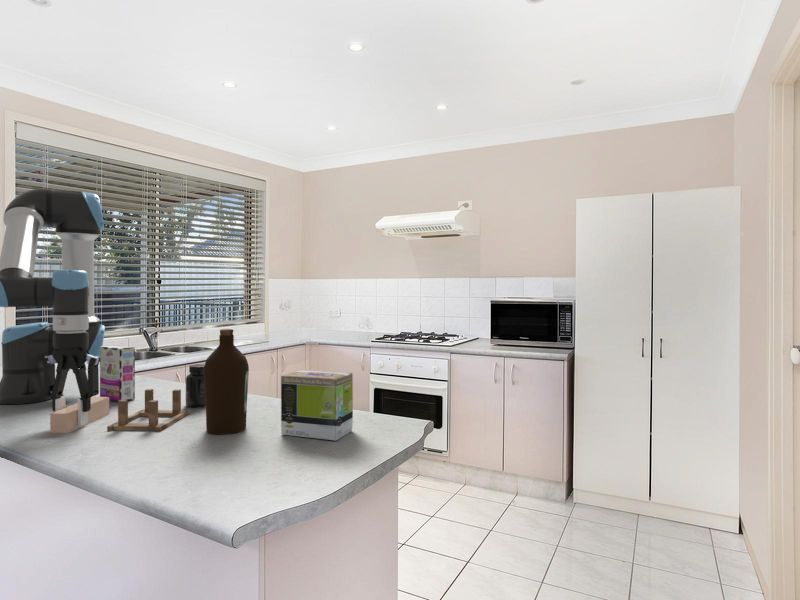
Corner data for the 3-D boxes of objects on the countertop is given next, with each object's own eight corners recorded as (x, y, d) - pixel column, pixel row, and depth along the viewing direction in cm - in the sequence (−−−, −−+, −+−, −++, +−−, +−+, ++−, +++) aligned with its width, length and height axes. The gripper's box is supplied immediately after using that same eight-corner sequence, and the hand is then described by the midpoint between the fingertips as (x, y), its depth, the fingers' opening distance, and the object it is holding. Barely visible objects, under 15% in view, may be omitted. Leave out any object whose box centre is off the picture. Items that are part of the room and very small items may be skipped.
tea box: (353, 430, 127) (354, 372, 127) (335, 442, 118) (336, 379, 117) (300, 424, 132) (301, 368, 132) (279, 435, 123) (279, 374, 122)
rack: (142, 412, 142) (142, 388, 142) (189, 413, 142) (189, 388, 142) (107, 430, 125) (107, 402, 125) (160, 431, 125) (160, 402, 125)
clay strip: (94, 414, 140) (94, 396, 140) (109, 415, 140) (109, 397, 140) (50, 434, 122) (50, 413, 122) (67, 434, 123) (66, 413, 122)
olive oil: (207, 437, 120) (207, 332, 119) (200, 426, 129) (200, 328, 128) (253, 431, 125) (253, 330, 124) (243, 421, 134) (243, 327, 134)
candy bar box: (136, 399, 158) (135, 347, 157) (120, 402, 154) (120, 348, 153) (114, 395, 163) (114, 344, 163) (99, 398, 159) (98, 346, 159)
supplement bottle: (180, 406, 149) (180, 366, 149) (197, 401, 156) (197, 362, 155) (198, 409, 147) (198, 367, 146) (215, 404, 153) (215, 364, 153)
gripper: (23, 332, 123) (25, 428, 124) (97, 333, 123) (98, 429, 124) (45, 329, 131) (46, 419, 131) (115, 330, 130) (115, 420, 131)
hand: (71, 424), depth 127 cm, fingers open, 5 cm apart
